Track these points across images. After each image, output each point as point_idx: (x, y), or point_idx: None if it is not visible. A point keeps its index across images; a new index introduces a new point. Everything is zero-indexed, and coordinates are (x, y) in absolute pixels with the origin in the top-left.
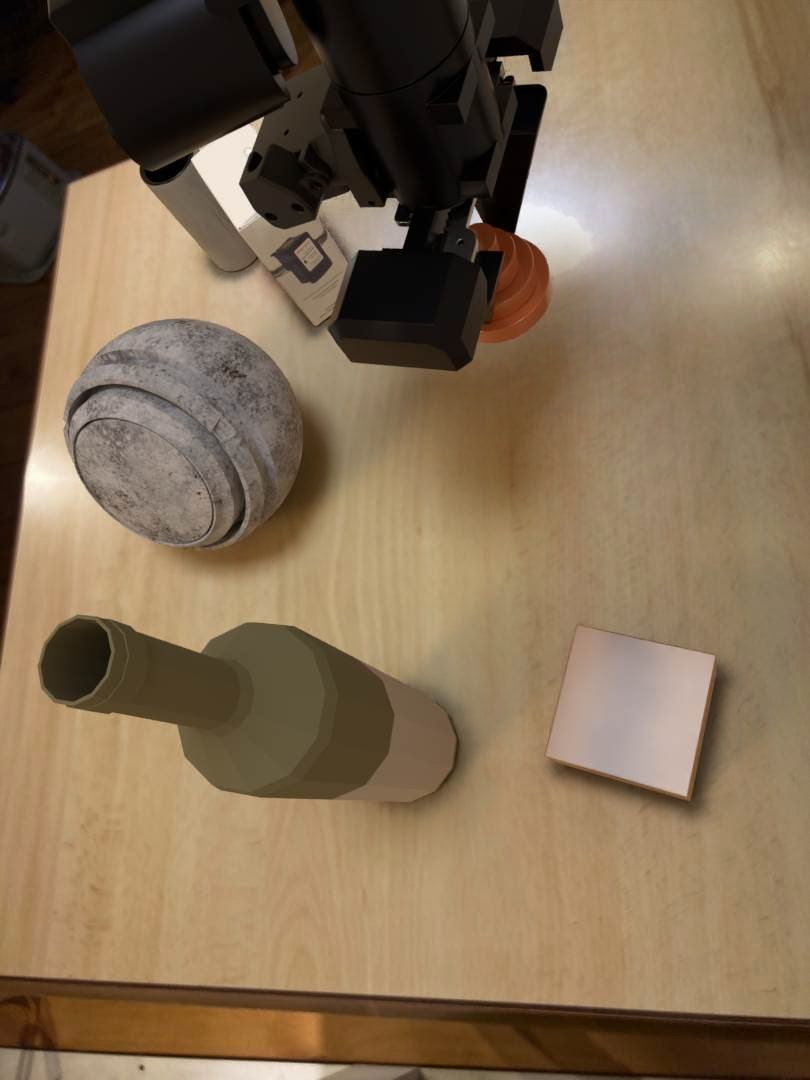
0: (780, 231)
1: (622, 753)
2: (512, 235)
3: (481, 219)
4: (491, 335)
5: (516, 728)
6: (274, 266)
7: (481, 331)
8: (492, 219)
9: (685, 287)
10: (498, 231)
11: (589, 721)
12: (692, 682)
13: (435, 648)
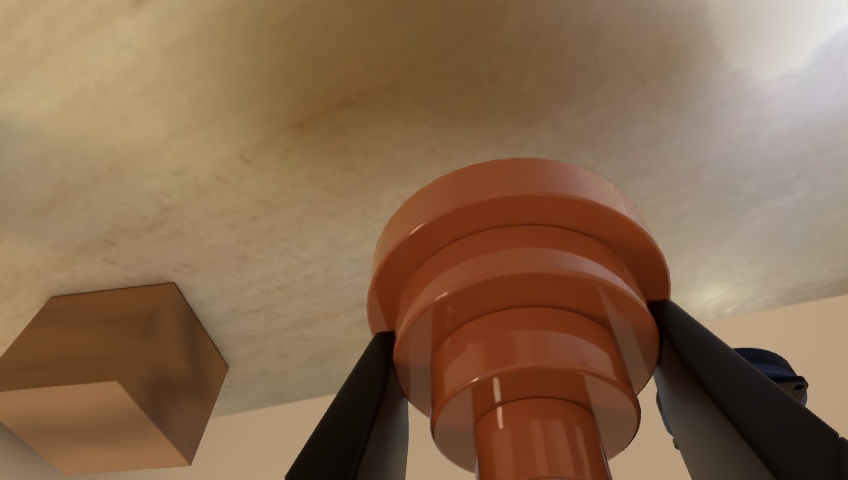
0: (750, 297)
1: (45, 439)
2: (639, 385)
3: (687, 363)
4: None
5: (34, 248)
6: None
7: (373, 335)
8: (681, 390)
9: (671, 231)
10: (619, 444)
11: (41, 414)
12: (153, 459)
13: (13, 120)
